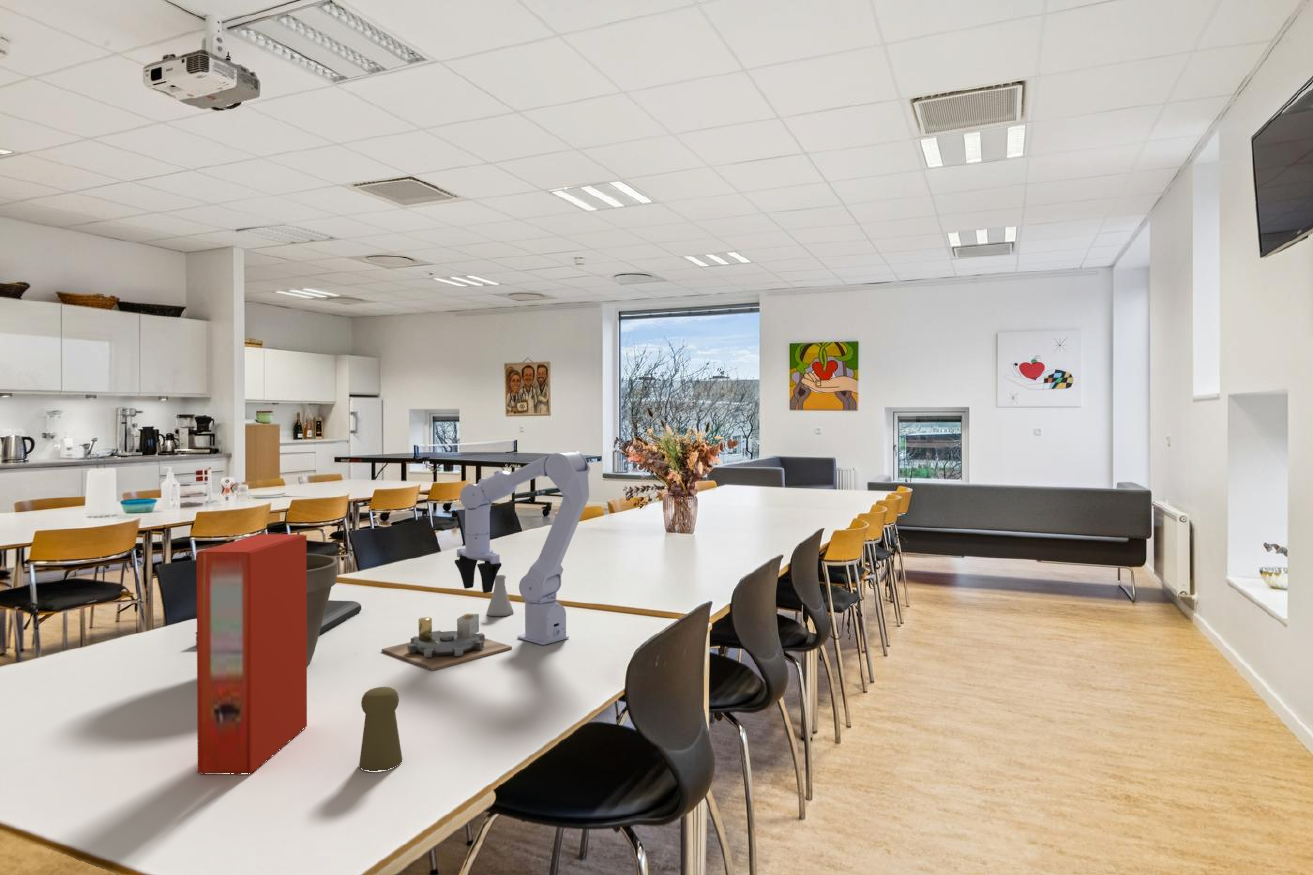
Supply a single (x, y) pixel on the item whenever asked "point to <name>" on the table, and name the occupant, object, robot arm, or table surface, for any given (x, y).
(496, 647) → the board
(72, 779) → the table surface
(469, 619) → the grey rectangular block
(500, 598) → the flask
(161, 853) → the table surface
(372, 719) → the olive pawn
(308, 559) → the plant pot
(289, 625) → the file binder
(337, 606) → the closed laptop
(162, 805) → the table surface
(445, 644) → the sprocket
